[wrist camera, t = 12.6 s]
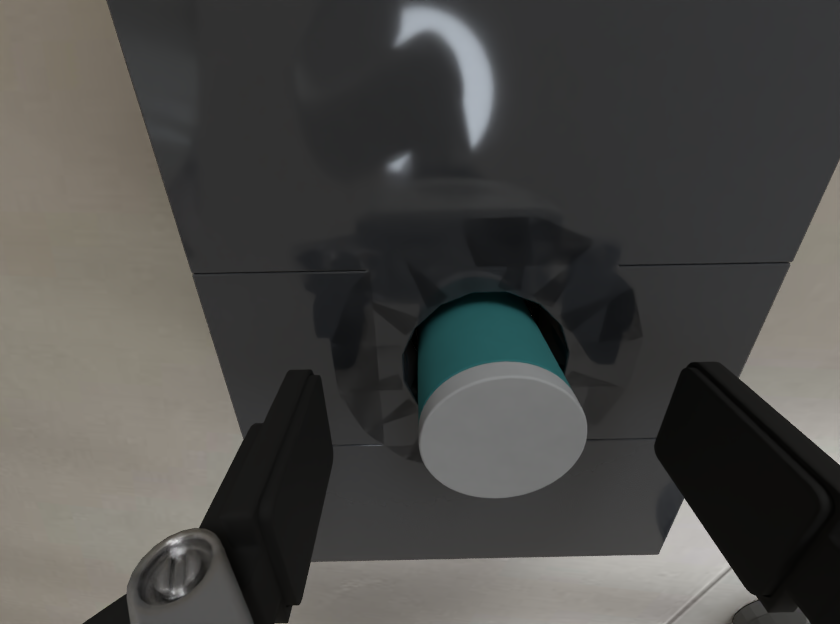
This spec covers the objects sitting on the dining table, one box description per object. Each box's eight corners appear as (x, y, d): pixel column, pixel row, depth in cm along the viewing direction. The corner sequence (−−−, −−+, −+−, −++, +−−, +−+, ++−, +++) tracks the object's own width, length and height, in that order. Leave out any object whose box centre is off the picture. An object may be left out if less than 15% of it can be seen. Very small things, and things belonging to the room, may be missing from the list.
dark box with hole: (172, -25, 10) (82, -71, 7) (809, -35, 10) (952, -85, 7) (299, 499, 19) (281, 563, 17) (625, 493, 19) (658, 555, 17)
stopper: (416, 270, 14) (417, 378, 8) (531, 268, 14) (604, 374, 8) (418, 365, 16) (420, 501, 10) (519, 363, 16) (572, 497, 10)
